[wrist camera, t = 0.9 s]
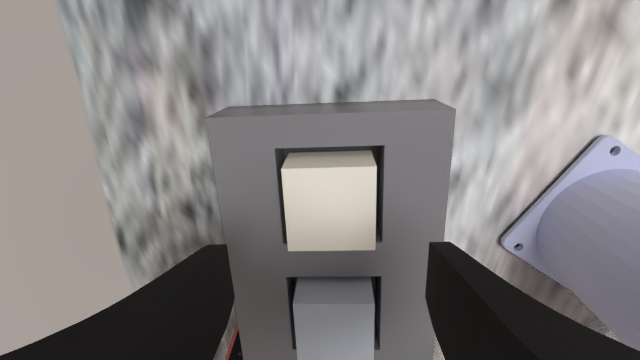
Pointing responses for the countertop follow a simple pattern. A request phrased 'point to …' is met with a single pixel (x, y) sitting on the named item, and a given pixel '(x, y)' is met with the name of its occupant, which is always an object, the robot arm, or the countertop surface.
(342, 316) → the key slate
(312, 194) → the key cream
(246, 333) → the slotted grey tray
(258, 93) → the countertop surface
